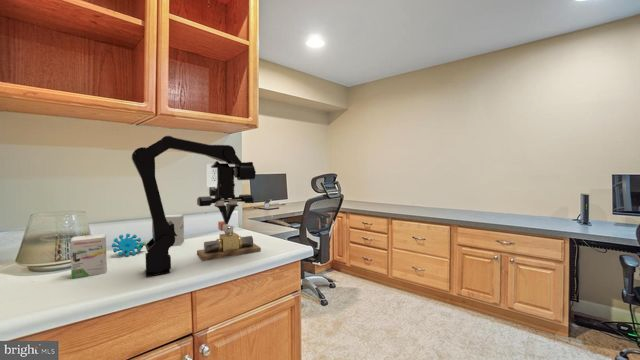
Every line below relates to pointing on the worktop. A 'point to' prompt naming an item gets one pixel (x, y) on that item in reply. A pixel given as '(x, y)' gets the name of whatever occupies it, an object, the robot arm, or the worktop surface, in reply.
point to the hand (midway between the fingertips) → (226, 223)
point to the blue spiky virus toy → (128, 245)
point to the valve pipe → (228, 243)
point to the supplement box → (177, 227)
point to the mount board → (227, 252)
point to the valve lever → (225, 228)
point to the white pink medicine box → (88, 255)
